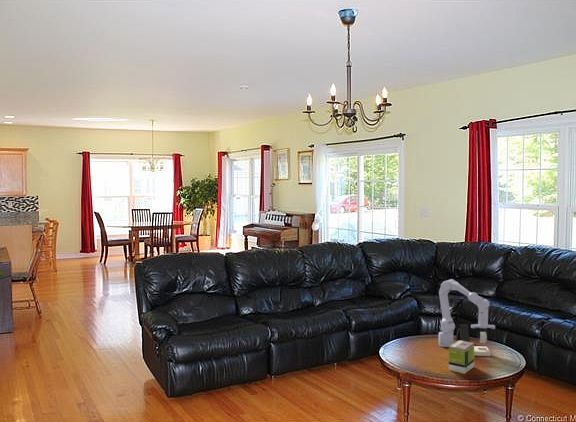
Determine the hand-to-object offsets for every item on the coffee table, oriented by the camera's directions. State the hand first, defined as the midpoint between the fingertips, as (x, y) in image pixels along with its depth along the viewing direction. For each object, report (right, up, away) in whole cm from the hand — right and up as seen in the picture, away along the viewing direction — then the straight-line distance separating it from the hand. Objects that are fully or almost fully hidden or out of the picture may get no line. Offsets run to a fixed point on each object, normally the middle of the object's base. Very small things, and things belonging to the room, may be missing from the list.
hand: (482, 339), depth 343 cm
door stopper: (-5, -8, +25) cm, 26 cm away
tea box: (-22, -11, -27) cm, 37 cm away
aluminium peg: (0, -2, 0) cm, 2 cm away
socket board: (-4, -9, +1) cm, 10 cm away
